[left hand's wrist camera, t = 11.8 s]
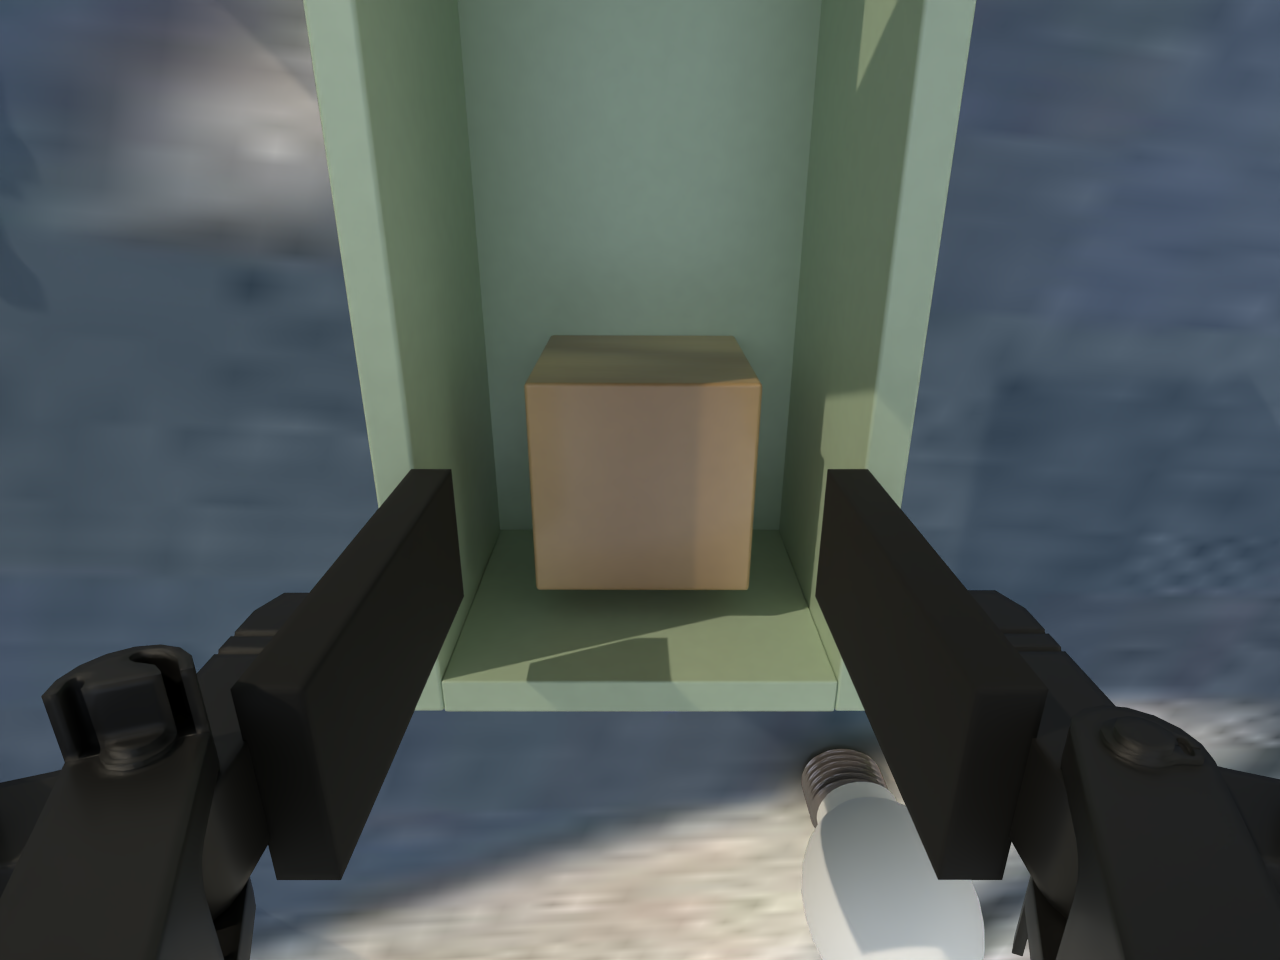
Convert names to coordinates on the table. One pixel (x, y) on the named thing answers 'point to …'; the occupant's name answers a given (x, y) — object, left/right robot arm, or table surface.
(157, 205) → the table surface
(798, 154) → the box
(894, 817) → the light bulb
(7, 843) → the left robot arm
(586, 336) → the block
